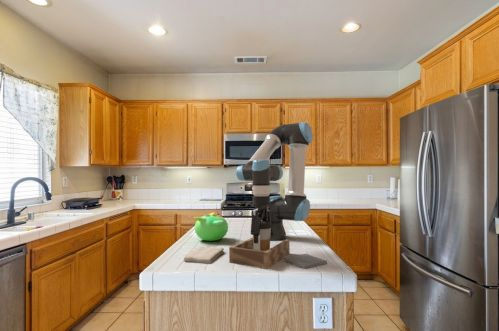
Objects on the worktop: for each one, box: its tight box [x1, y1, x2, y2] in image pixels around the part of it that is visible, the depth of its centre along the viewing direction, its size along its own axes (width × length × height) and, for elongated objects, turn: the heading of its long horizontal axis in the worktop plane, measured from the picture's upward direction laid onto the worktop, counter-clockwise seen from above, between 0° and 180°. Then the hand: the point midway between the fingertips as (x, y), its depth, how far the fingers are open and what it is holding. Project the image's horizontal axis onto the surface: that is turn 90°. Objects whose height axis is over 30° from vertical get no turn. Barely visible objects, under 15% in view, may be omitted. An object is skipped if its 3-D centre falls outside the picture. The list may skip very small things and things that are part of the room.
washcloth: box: [183, 246, 225, 264], centre depth 123 cm, size 12×18×3 cm, turn 167°
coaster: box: [283, 253, 328, 269], centre depth 114 cm, size 12×12×1 cm
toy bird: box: [193, 212, 229, 242], centre depth 153 cm, size 18×17×15 cm
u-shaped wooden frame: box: [228, 237, 291, 270], centre depth 121 cm, size 24×17×6 cm
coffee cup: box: [252, 221, 271, 251], centre depth 122 cm, size 8×8×15 cm
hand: (261, 248), depth 122 cm, fingers closed on coffee cup, 8 cm apart
